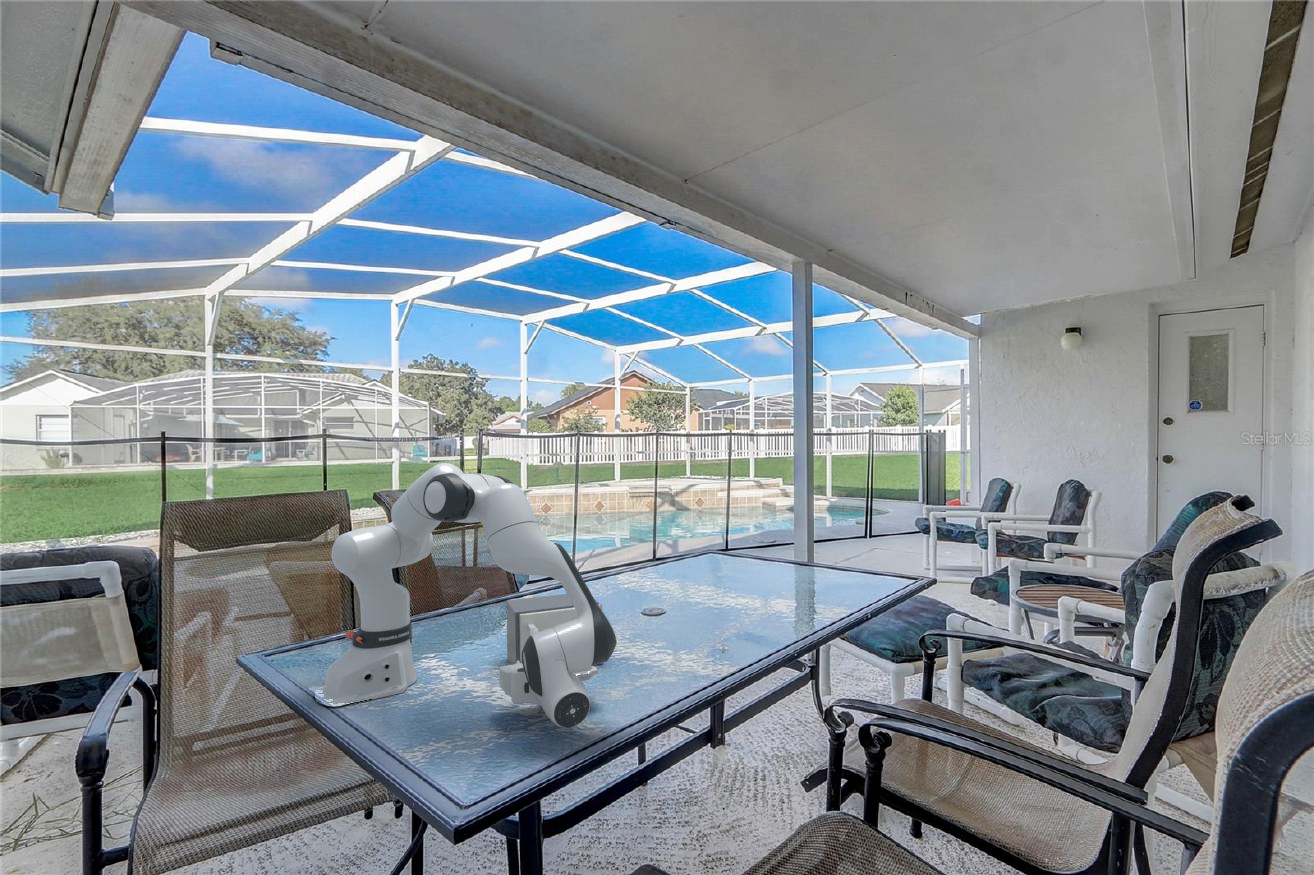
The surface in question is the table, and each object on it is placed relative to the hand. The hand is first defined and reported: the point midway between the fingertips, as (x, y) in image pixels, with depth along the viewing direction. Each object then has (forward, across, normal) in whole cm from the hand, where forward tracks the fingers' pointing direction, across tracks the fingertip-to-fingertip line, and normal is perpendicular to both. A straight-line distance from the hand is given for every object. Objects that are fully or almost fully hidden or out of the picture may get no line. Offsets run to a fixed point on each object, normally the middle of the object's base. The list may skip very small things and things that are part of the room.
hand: (540, 660), depth 137 cm
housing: (+21, -8, +8) cm, 24 cm away
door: (+10, -9, +7) cm, 15 cm away
